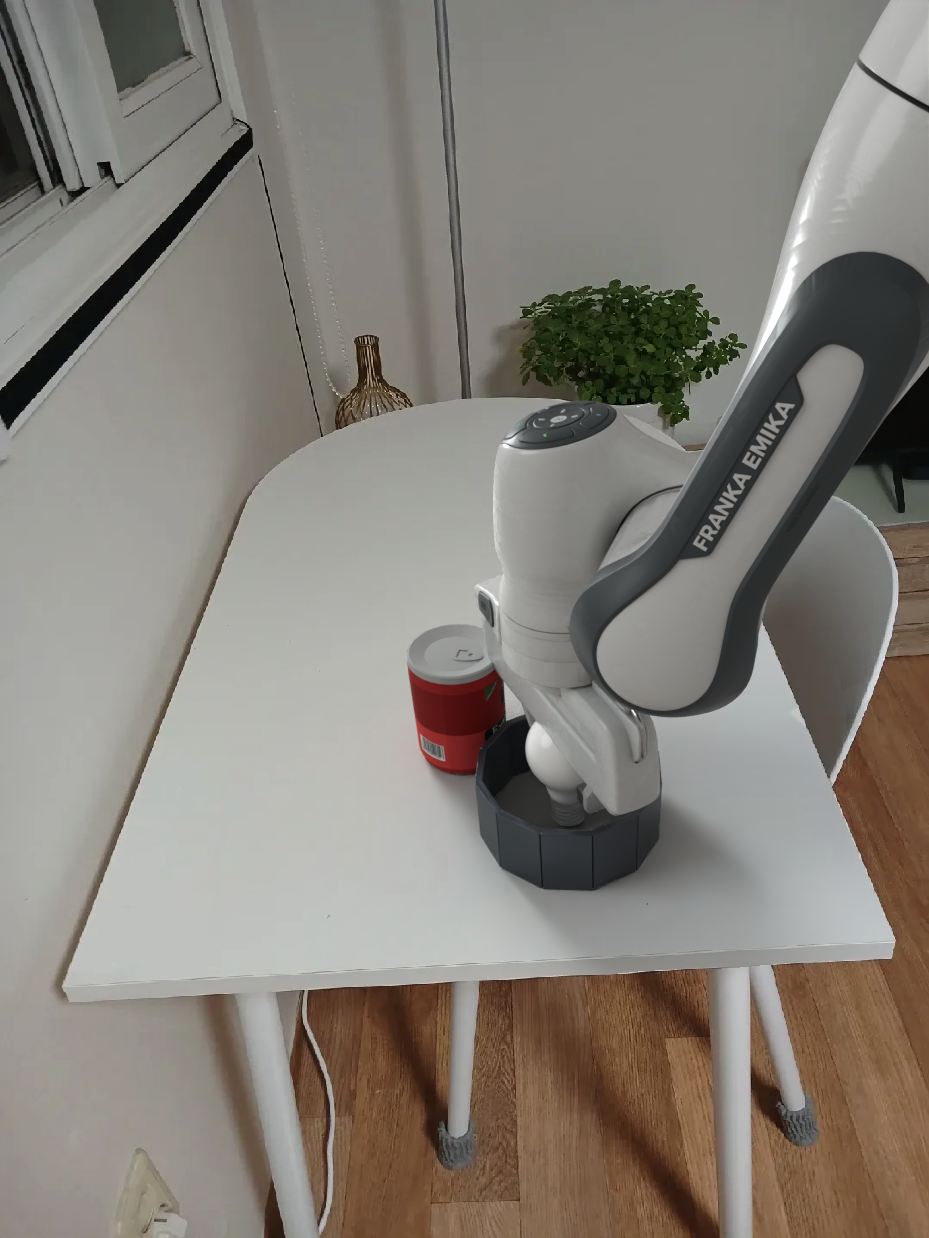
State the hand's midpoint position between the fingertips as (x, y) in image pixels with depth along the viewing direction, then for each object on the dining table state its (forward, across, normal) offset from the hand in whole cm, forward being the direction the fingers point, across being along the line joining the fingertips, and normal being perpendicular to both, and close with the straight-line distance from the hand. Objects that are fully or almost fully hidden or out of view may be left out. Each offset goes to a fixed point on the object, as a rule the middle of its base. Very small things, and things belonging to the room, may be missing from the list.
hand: (567, 773), depth 74 cm
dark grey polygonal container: (+5, 0, 0) cm, 5 cm away
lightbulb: (+5, 0, 0) cm, 5 cm away
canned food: (+5, +12, +4) cm, 14 cm away
